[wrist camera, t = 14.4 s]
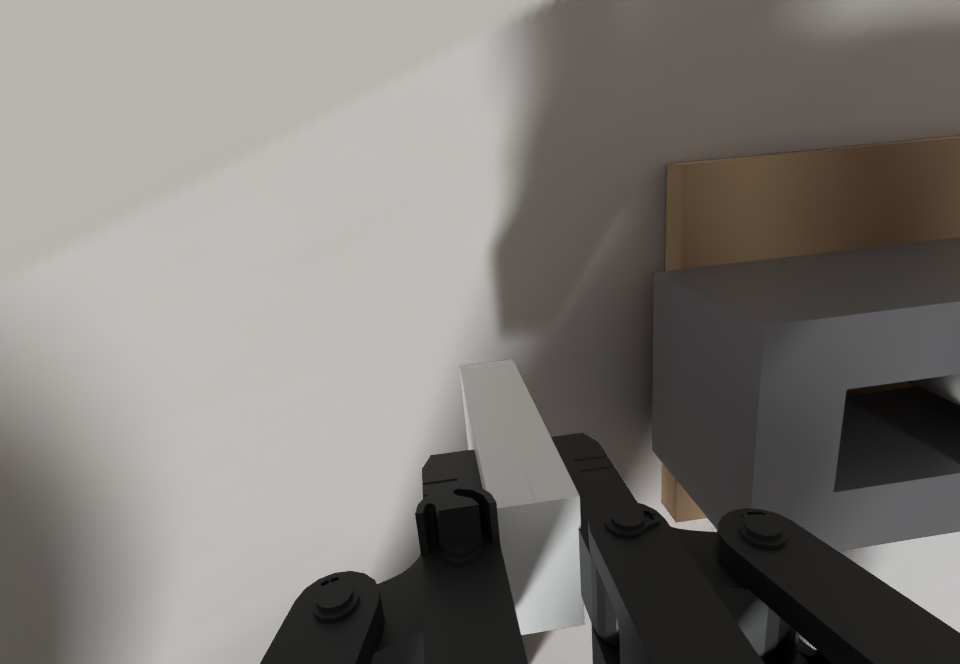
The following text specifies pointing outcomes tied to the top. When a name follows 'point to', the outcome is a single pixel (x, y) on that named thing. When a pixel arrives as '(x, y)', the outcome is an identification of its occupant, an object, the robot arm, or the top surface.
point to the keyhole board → (810, 220)
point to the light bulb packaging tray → (814, 389)
